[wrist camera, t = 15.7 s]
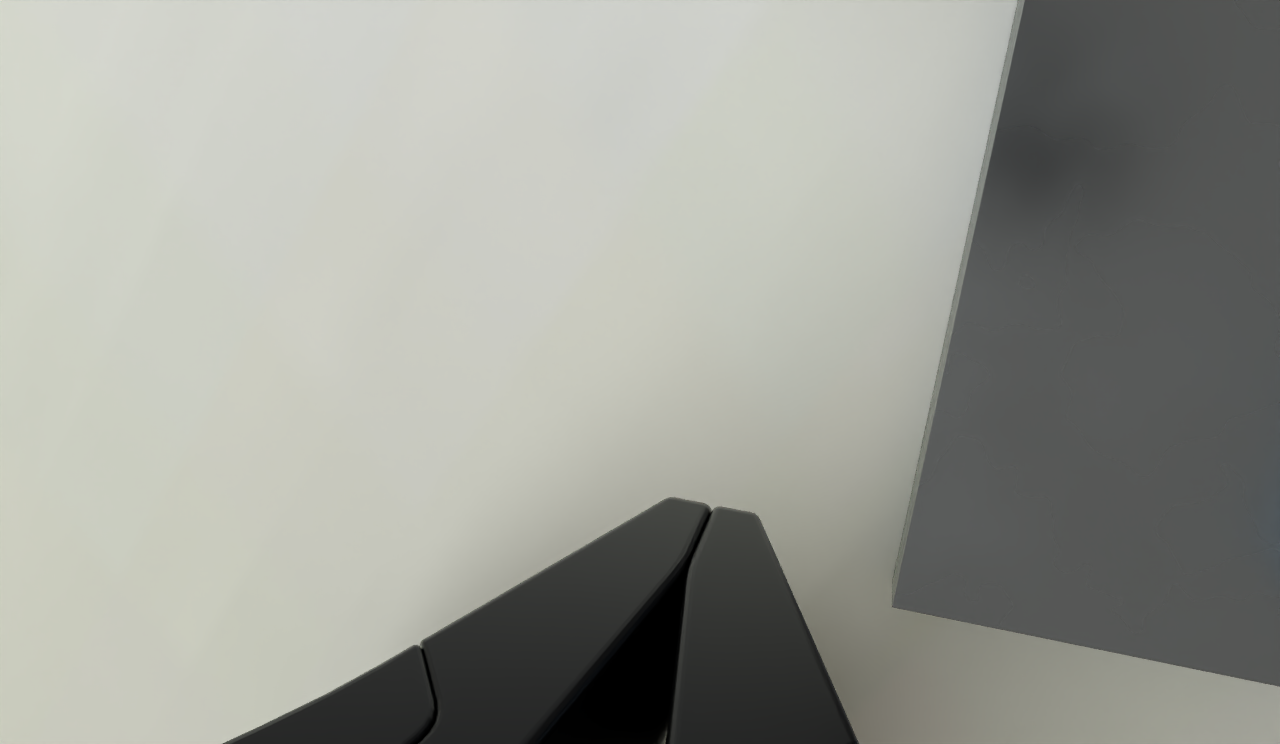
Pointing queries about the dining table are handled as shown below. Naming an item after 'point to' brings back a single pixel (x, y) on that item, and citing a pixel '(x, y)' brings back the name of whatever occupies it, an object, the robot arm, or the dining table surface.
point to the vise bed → (1116, 345)
